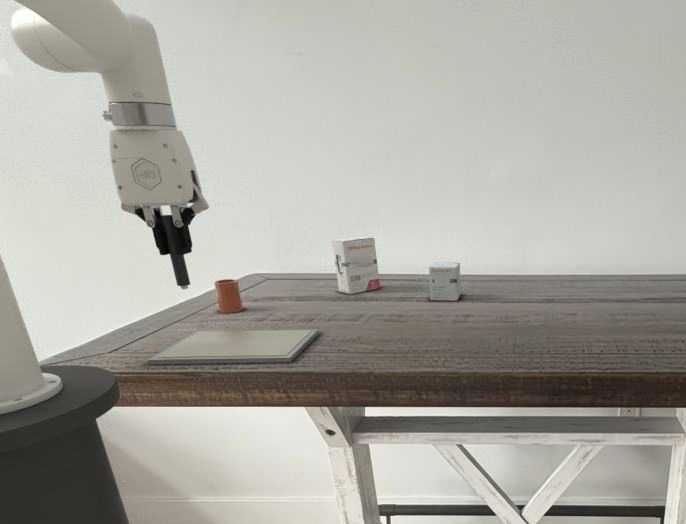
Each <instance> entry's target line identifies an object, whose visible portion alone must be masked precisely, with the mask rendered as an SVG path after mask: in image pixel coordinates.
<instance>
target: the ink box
mask: <svg viewBox="0 0 686 524" xmlns="http://www.w3.org/2000/svg"><path fill="white" fill-rule="evenodd" d="M331 244H332V251H333V258H334V264H335V271H336V279H337V285H338V292H340V293H343V294H348V295H355V294H359V293H364V292H370V291H373V290H378V289H379V290H380V289H381V284H380V276H379V267H378V266H379V265H378V259H377V258H378V257H377V249H376V243H375V237H373V236H359V237H351V238H341V239H340V238H339V239H333V240H331Z"/></svg>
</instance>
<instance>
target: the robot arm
mask: <svg viewBox="0 0 686 524" xmlns="http://www.w3.org/2000/svg"><path fill="white" fill-rule="evenodd" d="M14 2H16V3H18V4H19V5H21V6H19V7H18V8H17V9H15V11H14V12H13V13H12V15H11V17H10V22H9V30H10V34H11V38H12V40H13V41H14V43H15V45H16V47H17V48H18V50H20V52H21V53H22V55H24V56H25V57H26V58H27V59H29V60H30V61H31V62H33V63H34V64H35V65H38V66H40V67H42V68H44V69H46V70H49V71H52V72H57V73H62V74H63V73H64V74H74V73H76V74H77V73H97V74H99V75H100V76H101V80H102V84H103V87H104V91H105V95H106V99H107V102H108V105H107V107H108V110H103V111H102V117H103V119H104V120H105V121H106V122H111V123H112V125H113V126H114V129H112V130H111V129H110V130H109V131H108V145H109V157H110V163H111V169H112V175H113V180H114V185H115V189H116V193H117V196H118V199H119V201H120V202H121V204H120V208H121V210H122V211H123V212H126V213H130V214H132V215H135V216H137V217H138V218H140V220H142V221H143V222H145V223H146V226H147V227H148V228H150V229H151V231H152V235H153V238H154V242H155V246H156V248H157V249H158V252H159V255H160V256H167V255H170V253H169V249H168V245H167V241H166V236H165V232H164V228H163V224H162V220H161V215H164V213H163V210H162V206H169V208H170V213H171V214H170V215H172V218H173V222H174V227H173V228H172V229H171V230H172V235H173V239H174V243H175V247H176V252H177V254H179V255H184V256H185V255H187V254H191V253H192V251H193V249H192V248H193V241H192V236H191V232H190V228H189V226H190V225H191V224H192V221H193V220H194V218H195V217H196V216H197V215H198V214H200V213H202V212H204V211H207V210H208V209H209V208H210V205H209V203H208V202H207V200H206V198H205V197H204V195H203V191H202V186H201V182H200V178H199V173H198V169H197V166H196V163H195V160H194V158H193V154H192V152H191V149H190V147H189V146H190V145H189V144H188V141H187V139H186V136H185V134H184V132H183V130H178V126H177V121H176V116H175V111H174V107H173V102H172V98H171V93H170V89H169V85H168V79H167V75H166V71H165V67H164V66H165V65H164V61H163V57H162V53H161V48H160V44H159V43H160V42H159V38H158V34H157V30H156V29H155V27H154V25H153V24H152V22H150V21H149V20H148V19H147V18H145V17H143V16H140V15H137V14H133V13H127V12H124V11H122V9H121V8H120V7H119V6H118V4H117V3H115V1H114V0H14ZM189 204H191V205H190V206H189ZM19 306H20V305H19V303H18V300H17V296H16V295H15V291H14V288H13V286H12V283H11V280H10V277H9V274H8V271H7V268H6V266H5V262H4V260H3V258H2V255H1V254H0V415H3V414H7V413H11V412H15V411H18V410H21V409H25V408H28V407H31V406H33V405H36V404H39V403H41V402H43V401H46V400H48V399H50V398H51V397H53V396H55V395H56V394H58V393H59V392H60V391H61V389H62V388H63V384H62V381H61V379H60V377H58V376H56V375H53V374H49V373H42V371H41V369H40V367H41V366H40V363H39V360H38V357H37V355H36V351H35V349H34V345H33V343H32V340H31V338H30V335H29V332H28V329H27V326H26V323H25V320H24V318H23V314H22V311H21V309H20V307H19Z"/></svg>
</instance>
